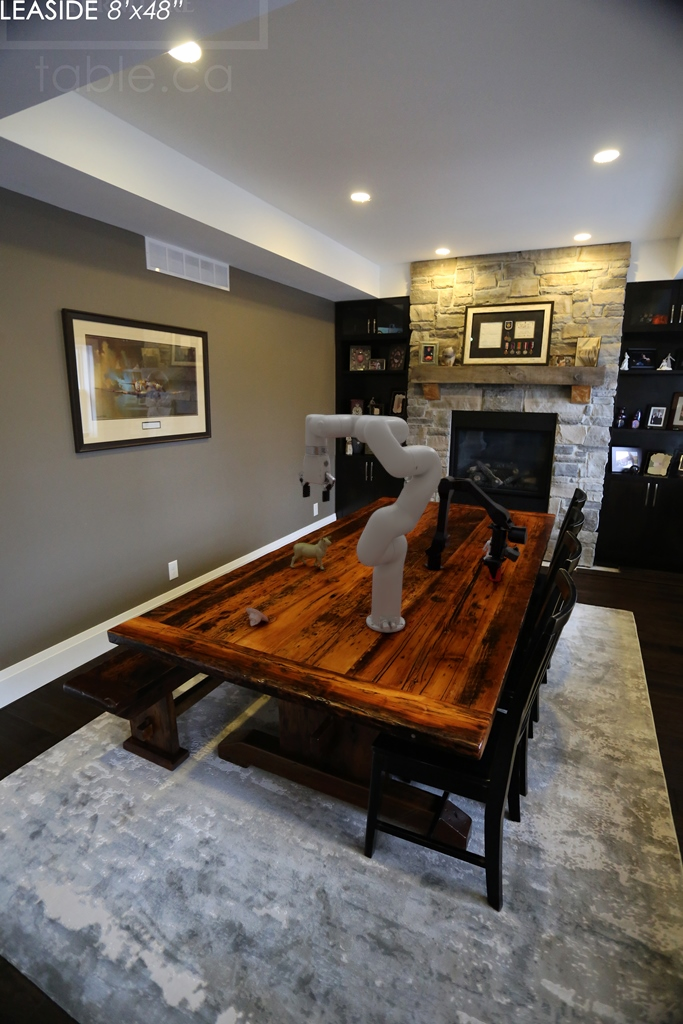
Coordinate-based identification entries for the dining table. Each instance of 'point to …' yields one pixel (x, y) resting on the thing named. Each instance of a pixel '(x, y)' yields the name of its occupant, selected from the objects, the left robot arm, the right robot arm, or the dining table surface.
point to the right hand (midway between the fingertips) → (495, 577)
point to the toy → (311, 551)
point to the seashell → (255, 616)
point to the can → (498, 575)
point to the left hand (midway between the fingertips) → (316, 499)
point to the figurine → (488, 548)
